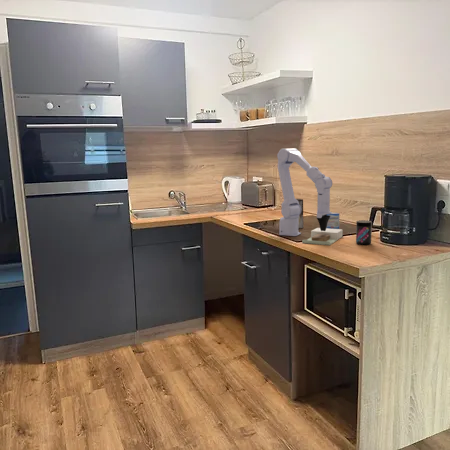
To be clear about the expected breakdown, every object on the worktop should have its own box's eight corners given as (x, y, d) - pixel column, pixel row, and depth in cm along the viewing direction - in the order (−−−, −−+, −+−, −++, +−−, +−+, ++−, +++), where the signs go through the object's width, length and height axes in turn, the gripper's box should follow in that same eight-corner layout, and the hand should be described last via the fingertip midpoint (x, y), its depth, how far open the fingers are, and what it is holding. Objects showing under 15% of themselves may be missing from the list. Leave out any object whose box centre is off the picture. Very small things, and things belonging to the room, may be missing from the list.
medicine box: (325, 229, 226) (326, 214, 225) (322, 228, 231) (322, 213, 229) (339, 229, 228) (339, 213, 226) (335, 227, 232) (336, 212, 231)
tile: (311, 241, 197) (311, 237, 197) (317, 237, 205) (317, 233, 204) (324, 242, 194) (324, 238, 194) (329, 238, 202) (329, 234, 201)
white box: (311, 238, 207) (311, 231, 206) (317, 234, 215) (317, 227, 214) (337, 240, 200) (337, 232, 200) (342, 236, 208) (342, 229, 208)
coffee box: (298, 226, 240) (298, 198, 237) (303, 227, 234) (303, 199, 231) (283, 227, 238) (283, 199, 235) (288, 229, 232) (288, 200, 229)
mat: (302, 243, 196) (302, 239, 196) (310, 238, 207) (310, 235, 206) (329, 245, 190) (329, 242, 189) (337, 240, 200) (337, 237, 200)
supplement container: (352, 243, 193) (353, 220, 191) (365, 241, 195) (366, 219, 193) (361, 246, 187) (362, 223, 185) (374, 244, 189) (375, 222, 187)
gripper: (327, 204, 191) (327, 233, 194) (336, 201, 204) (335, 228, 206) (312, 204, 195) (312, 232, 197) (321, 200, 207) (321, 227, 209)
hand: (323, 230), depth 202 cm, fingers closed
